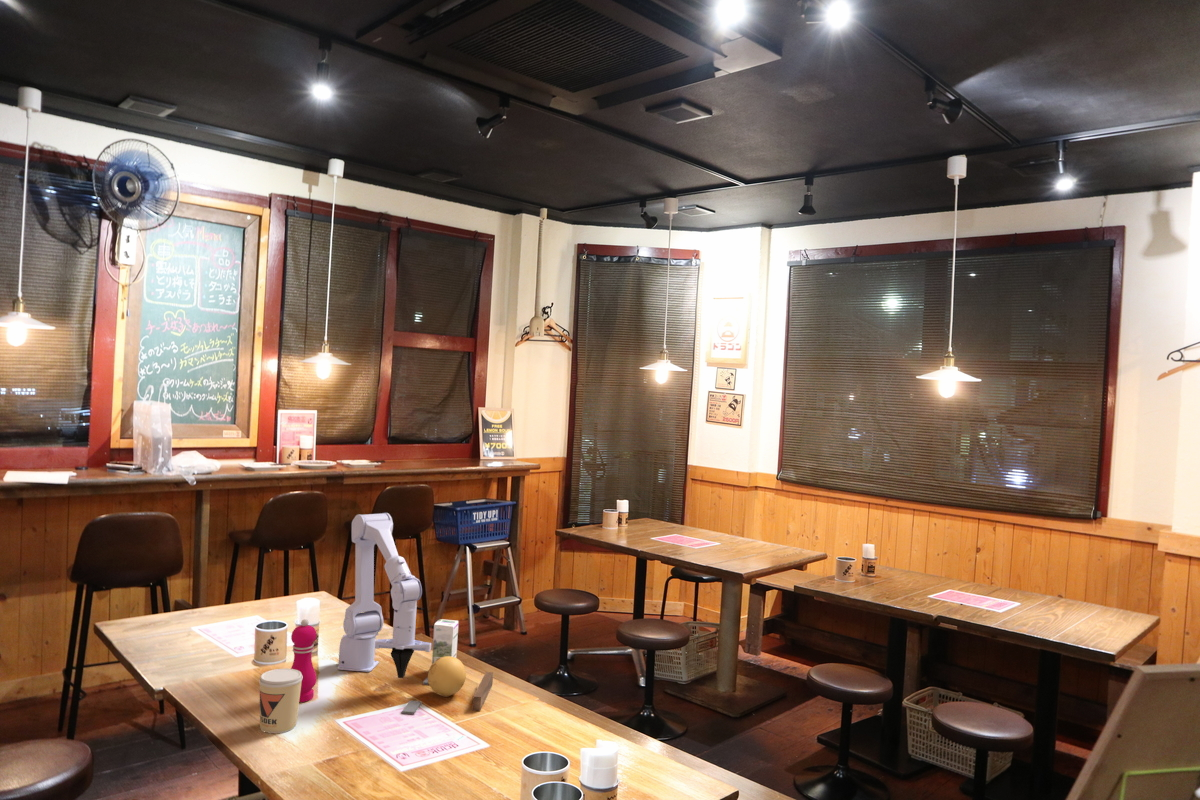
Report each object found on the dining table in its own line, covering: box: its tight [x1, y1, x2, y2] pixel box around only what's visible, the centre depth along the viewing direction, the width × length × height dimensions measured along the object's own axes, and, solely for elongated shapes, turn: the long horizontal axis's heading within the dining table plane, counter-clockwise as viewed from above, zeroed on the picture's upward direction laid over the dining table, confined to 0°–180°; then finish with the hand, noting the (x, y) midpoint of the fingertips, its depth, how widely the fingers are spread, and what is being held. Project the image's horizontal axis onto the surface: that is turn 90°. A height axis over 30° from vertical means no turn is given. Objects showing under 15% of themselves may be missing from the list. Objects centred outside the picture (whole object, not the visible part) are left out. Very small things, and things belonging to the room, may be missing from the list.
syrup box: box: [431, 618, 459, 665], centre depth 222 cm, size 6×6×14 cm
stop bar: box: [471, 671, 494, 712], centre depth 205 cm, size 2×18×4 cm, turn 178°
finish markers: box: [401, 676, 430, 715], centre depth 204 cm, size 3×24×1 cm, turn 178°
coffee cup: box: [258, 668, 303, 734], centre depth 181 cm, size 9×9×12 cm
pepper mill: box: [290, 619, 318, 703], centre depth 198 cm, size 7×7×20 cm
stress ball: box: [427, 656, 467, 698], centre depth 205 cm, size 10×10×10 cm
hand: (401, 676), depth 206 cm, fingers closed
